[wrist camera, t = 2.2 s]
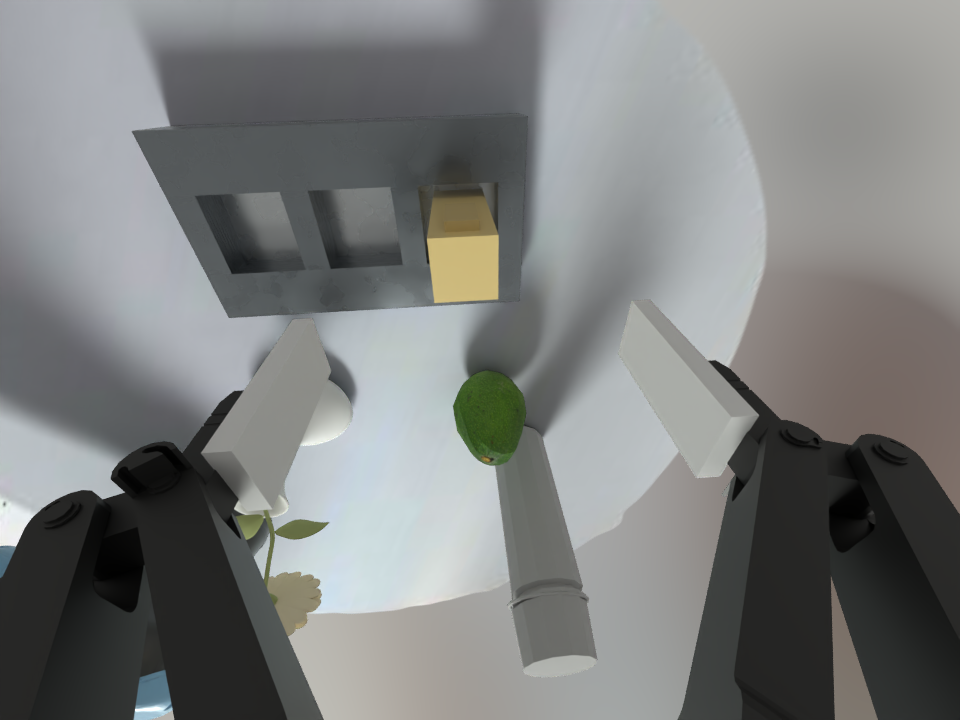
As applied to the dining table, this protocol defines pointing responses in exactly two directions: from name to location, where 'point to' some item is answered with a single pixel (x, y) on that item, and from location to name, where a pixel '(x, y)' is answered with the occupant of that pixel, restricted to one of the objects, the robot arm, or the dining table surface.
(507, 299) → the jack panel
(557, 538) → the water bottle
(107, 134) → the dining table surface
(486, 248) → the yellow tall block
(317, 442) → the flower in vase
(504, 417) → the avocado
